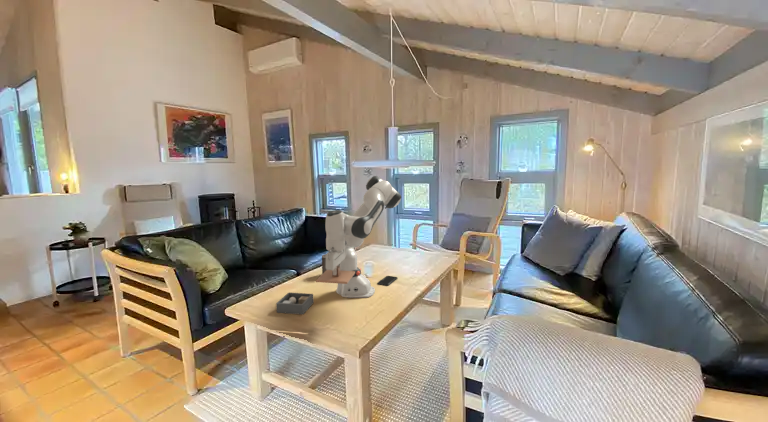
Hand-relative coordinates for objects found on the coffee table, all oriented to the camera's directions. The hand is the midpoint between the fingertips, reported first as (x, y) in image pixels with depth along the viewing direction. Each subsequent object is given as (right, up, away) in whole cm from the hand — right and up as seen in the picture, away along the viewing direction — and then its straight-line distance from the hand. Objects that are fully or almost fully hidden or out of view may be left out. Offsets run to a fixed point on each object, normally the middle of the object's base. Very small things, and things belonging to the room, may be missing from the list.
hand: (336, 273), depth 159 cm
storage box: (-23, -21, +14) cm, 34 cm away
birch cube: (-20, -20, +17) cm, 33 cm away
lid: (0, -2, 0) cm, 2 cm away
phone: (+25, -15, +52) cm, 60 cm away
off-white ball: (-26, -20, +18) cm, 37 cm away
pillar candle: (-14, -14, +64) cm, 67 cm away
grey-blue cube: (-27, -21, +12) cm, 36 cm away
